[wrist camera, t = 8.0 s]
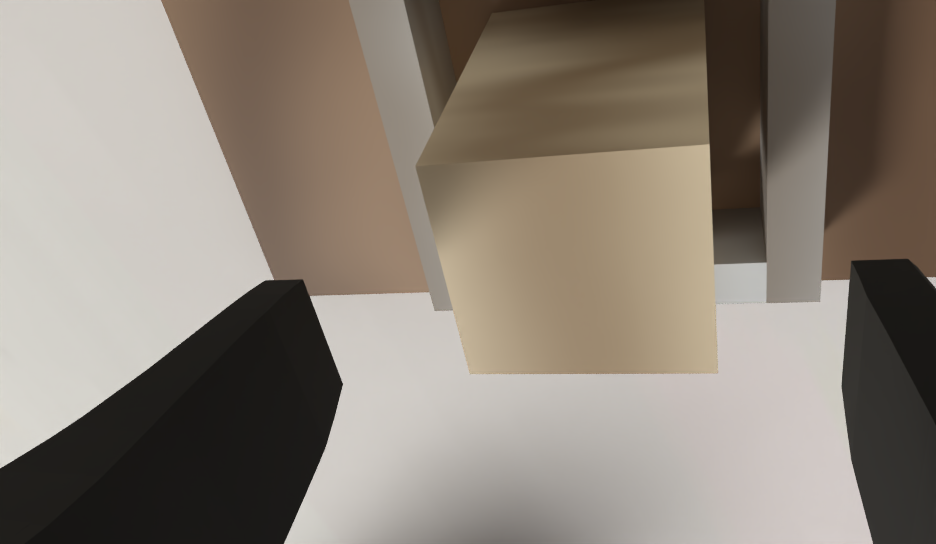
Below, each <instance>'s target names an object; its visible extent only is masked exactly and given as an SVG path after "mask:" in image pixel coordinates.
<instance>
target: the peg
mask: <svg viewBox="0 0 936 544" xmlns="http://www.w3.org/2000/svg"><path fill="white" fill-rule="evenodd" d="M415 167H416V171H417V175H418V178H419V182H420V186H421V190H422V194H423V198H424V201H425V205H426V209H427V213H428V217H429V220H430V224H431V228H432V232H433V236H434V239H435V243H436V247H437V251H438V255H439V258H440V262H441V266H442V270H443V274H444V278H445V281H446V285H447V289H448V293H449V297H450V300H451V304H452V308H453V312H454V316H455V319H456V323H457V327H458V331H459V335H460V338H461V342H462V346H463V350H464V354H465V357H466V361H467V365H468V369H469V373H470V374H664V373H718V359H717V332H716V305H715V278H714V251H713V224H712V197H711V170H710V143H709V116H708V90H707V63H706V36H705V10H704V0H593V1H585V2H577V3H569V4H561V5H553V6H545V7H537V8H529V9H521V10H513V11H505V12H497V13H492V14H491V16H490V18H489V20H488V22H487V24H486V26H485V28H484V30H483V32H482V34H481V36H480V38H479V40H478V42H477V44H476V46H475V48H474V50H473V52H472V54H471V56H470V58H469V60H468V62H467V64H466V66H465V68H464V70H463V72H462V74H461V76H460V78H459V80H458V82H457V84H456V86H455V88H454V90H453V92H452V94H451V96H450V98H449V100H448V102H447V104H446V106H445V108H444V110H443V112H442V114H441V116H440V118H439V120H438V122H437V124H436V126H435V128H434V130H433V132H432V134H431V136H430V138H429V140H428V142H427V144H426V146H425V148H424V150H423V152H422V154H421V156H420V158H419V160H418V162H417V164H416V166H415Z"/></svg>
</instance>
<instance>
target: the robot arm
mask: <svg viewBox="0 0 936 544" xmlns="http://www.w3.org/2000/svg"><path fill="white" fill-rule="evenodd" d="M342 386H343V383H342V381H341V378H340V375H339V373H338V370H337V367H336V365H335V362H334V360H333V357H332V354H331V352H330V349H329V346H328V344H327V341H326V338H325V336H324V333H323V331H322V328H321V325H320V323H319V320H318V317H317V315H316V312H315V309H314V307H313V304H312V302H311V299H310V296H309V294H308V291H307V288H306V286H305V283H304V280H303V279H296V280H267V281H264V282H262V283H261V284H259V285H258V286H256V287H255V288H253V289H252V290H250V291H249V292H247V293H246V294H244V295H243V296H242V297H240V298H239V299H238V300H236V301H235V302H234V303H232V304H231V305H230V306H228V307H227V308H226V309H224V310H223V311H222V312H221V313H219V314H218V315H217V316H215V317H214V318H213V319H212V320H210V321H209V322H208V323H206V324H205V325H204V326H203V327H201V328H200V329H199V330H198V331H196V332H195V333H194V334H192V335H191V336H190V337H189V338H187V339H186V340H185V341H183V342H182V343H181V344H180V345H178V346H177V347H176V348H174V349H173V350H172V351H171V352H169V353H168V354H167V355H165V356H164V357H163V358H162V359H160V360H159V361H158V362H156V363H155V364H154V365H153V366H151V367H150V368H149V369H147V370H146V371H145V372H143V373H142V374H141V375H139V376H138V377H136V378H135V379H134V380H132V381H131V382H130V383H128V384H127V385H125V386H124V387H123V388H121V389H120V390H119V391H117V392H116V393H114V394H113V395H112V396H110V397H109V398H108V399H106V400H105V401H103V402H102V403H101V404H99V405H98V406H97V407H95V408H94V409H92V410H91V411H90V412H88V413H87V414H85V415H84V416H83V417H81V418H80V419H78V420H77V421H75V422H74V423H72V424H71V425H69V426H68V427H66V428H65V429H63V430H62V431H60V432H59V433H57V434H56V435H54V436H52V437H51V438H49V439H48V440H46V441H45V442H43V443H41V444H40V445H38V446H36V447H35V448H33V449H32V450H30V451H28V452H27V453H25V454H23V455H22V456H20V457H19V458H17V459H15V460H14V461H12V462H10V463H9V464H7V465H5V466H4V467H2V468H0V544H284V542H285V540H286V538H287V535H288V533H289V531H290V528H291V526H292V524H293V522H294V519H295V517H296V515H297V513H298V510H299V508H300V506H301V504H302V501H303V499H304V497H305V494H306V492H307V490H308V487H309V485H310V483H311V480H312V478H313V476H314V473H315V471H316V469H317V466H318V464H319V462H320V459H321V457H322V454H323V452H324V450H325V447H326V444H327V441H328V437H329V434H330V431H331V427H332V424H333V421H334V417H335V413H336V409H337V405H338V401H339V397H340V393H341V390H342ZM842 393H843V401H844V409H845V417H846V425H847V432H848V439H849V446H850V453H851V460H852V464H853V468H854V472H855V476H856V480H857V484H858V488H859V491H860V495H861V499H862V503H863V507H864V510H865V514H866V518H867V522H868V526H869V529H870V533H871V537H872V541H873V544H936V288H935V287H934V286H933V285H932V283H931V282H930V281H929V280H928V279H927V278H926V276H925V275H924V274H923V273H922V272H921V271H920V269H919V268H918V267H917V266H916V265H915V264H914V263H912V262H911V261H910V260H909V259H882V260H853V261H851V270H850V283H849V296H848V309H847V322H846V335H845V348H844V361H843V374H842Z"/></svg>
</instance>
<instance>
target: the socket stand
mask: <svg viewBox="0 0 936 544" xmlns="http://www.w3.org/2000/svg"><path fill="white" fill-rule="evenodd" d="M161 1H162V3H163V6H164V8H165V11H166V13H167V16H168V18H169V21H170V23H171V26H172V28H173V31H174V33H175V35H176V38H177V40H178V43H179V45H180V48H181V50H182V53H183V55H184V58H185V60H186V63H187V65H188V68H189V70H190V73H191V75H192V78H193V80H194V82H195V85H196V87H197V90H198V92H199V95H200V97H201V100H202V102H203V105H204V107H205V110H206V112H207V115H208V117H209V120H210V122H211V125H212V127H213V129H214V132H215V134H216V137H217V139H218V142H219V144H220V147H221V149H222V152H223V154H224V157H225V159H226V162H227V164H228V167H229V169H230V172H231V174H232V176H233V179H234V181H235V184H236V186H237V189H238V191H239V194H240V196H241V199H242V201H243V204H244V206H245V209H246V211H247V214H248V216H249V219H250V221H251V223H252V226H253V228H254V231H255V233H256V236H257V238H258V241H259V243H260V246H261V248H262V251H263V253H264V256H265V258H266V261H267V263H268V266H269V268H270V270H271V273H272V275H273V278H274V280H296V279H303V280H304V283H305V286H306V288H307V291H308V294H309V296H317V295H350V294H383V293H416V292H430V295H431V299H432V303H433V306H434V310H435V311H449V310H453V308H452V304H451V300H450V297H449V293H448V289H447V285H446V281H445V278H444V274H443V270H442V266H441V262H440V258H439V255H438V251H437V247H436V243H435V239H434V236H433V232H432V228H431V224H430V220H429V217H428V213H427V209H426V205H425V201H424V198H423V194H422V190H421V186H420V182H419V178H418V175H417V171H416V167H415V166H416V164H417V162H418V160H419V158H420V156H421V154H422V152H423V150H424V148H425V146H426V144H427V142H428V140H429V138H430V136H431V134H432V132H433V130H434V128H435V126H436V124H437V122H438V120H439V118H440V116H441V114H442V112H443V110H444V108H445V106H446V104H447V102H448V100H449V98H450V96H451V94H452V92H453V90H454V88H455V86H456V84H457V82H458V80H459V78H460V76H461V74H462V72H463V70H464V68H465V66H466V64H467V62H468V60H469V58H470V56H471V54H472V52H473V50H474V48H475V46H476V44H477V42H478V40H479V38H480V36H481V34H482V32H483V30H484V28H485V26H486V24H487V22H488V20H489V18H490V16H491V14H492V13H497V12H505V11H513V10H521V9H529V8H537V7H545V6H553V5H561V4H569V3H577V2H585V1H593V0H161ZM704 10H705V36H706V63H707V90H708V116H709V143H710V170H711V197H712V224H713V251H714V278H715V304H745V303H787V302H820V294H821V280H848V279H850V270H851V261H853V260H882V259H909V260H910V261H911V262H912V263H914V264H915V265H916V266H917V267H918V268H919V269H920V271H921V272H922V273H923V274H924V275H925V276H926V277H936V0H704Z"/></svg>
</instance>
